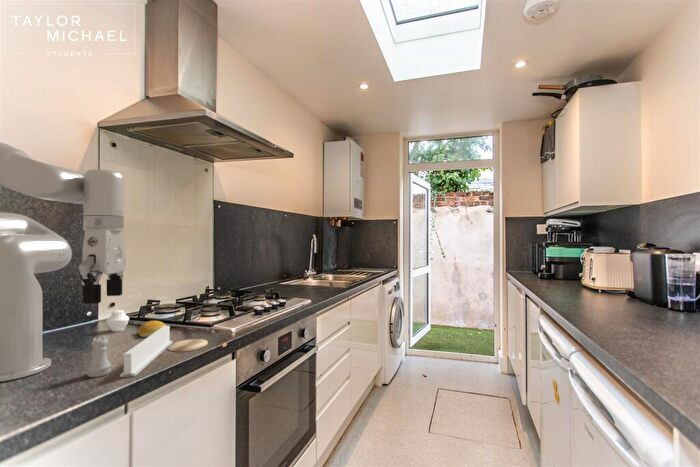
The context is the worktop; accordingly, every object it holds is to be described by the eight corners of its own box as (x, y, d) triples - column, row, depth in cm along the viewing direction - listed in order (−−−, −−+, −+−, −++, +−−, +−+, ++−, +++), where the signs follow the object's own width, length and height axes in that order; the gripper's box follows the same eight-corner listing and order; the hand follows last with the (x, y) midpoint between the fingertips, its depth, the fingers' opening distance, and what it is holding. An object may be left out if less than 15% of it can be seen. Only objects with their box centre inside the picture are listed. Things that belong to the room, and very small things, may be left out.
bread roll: (141, 339, 102) (141, 326, 102) (136, 333, 108) (136, 321, 108) (171, 334, 107) (171, 321, 107) (165, 328, 114) (165, 317, 114)
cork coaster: (162, 353, 89) (162, 351, 89) (175, 341, 99) (175, 340, 99) (202, 350, 91) (202, 348, 91) (211, 339, 101) (211, 338, 101)
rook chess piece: (87, 373, 76) (87, 337, 76) (111, 368, 79) (111, 334, 79) (86, 379, 72) (86, 342, 72) (111, 374, 75) (111, 338, 75)
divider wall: (120, 377, 74) (120, 354, 74) (161, 343, 97) (161, 326, 97) (135, 376, 74) (135, 353, 74) (172, 342, 98) (172, 325, 98)
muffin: (129, 327, 116) (129, 306, 116) (129, 331, 110) (129, 310, 111) (107, 329, 112) (107, 309, 112) (105, 334, 107) (105, 312, 107)
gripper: (102, 222, 69) (102, 306, 69) (138, 225, 86) (138, 292, 86) (61, 222, 68) (60, 307, 68) (105, 225, 85) (105, 293, 84)
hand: (103, 299), depth 77 cm, fingers open, 9 cm apart
